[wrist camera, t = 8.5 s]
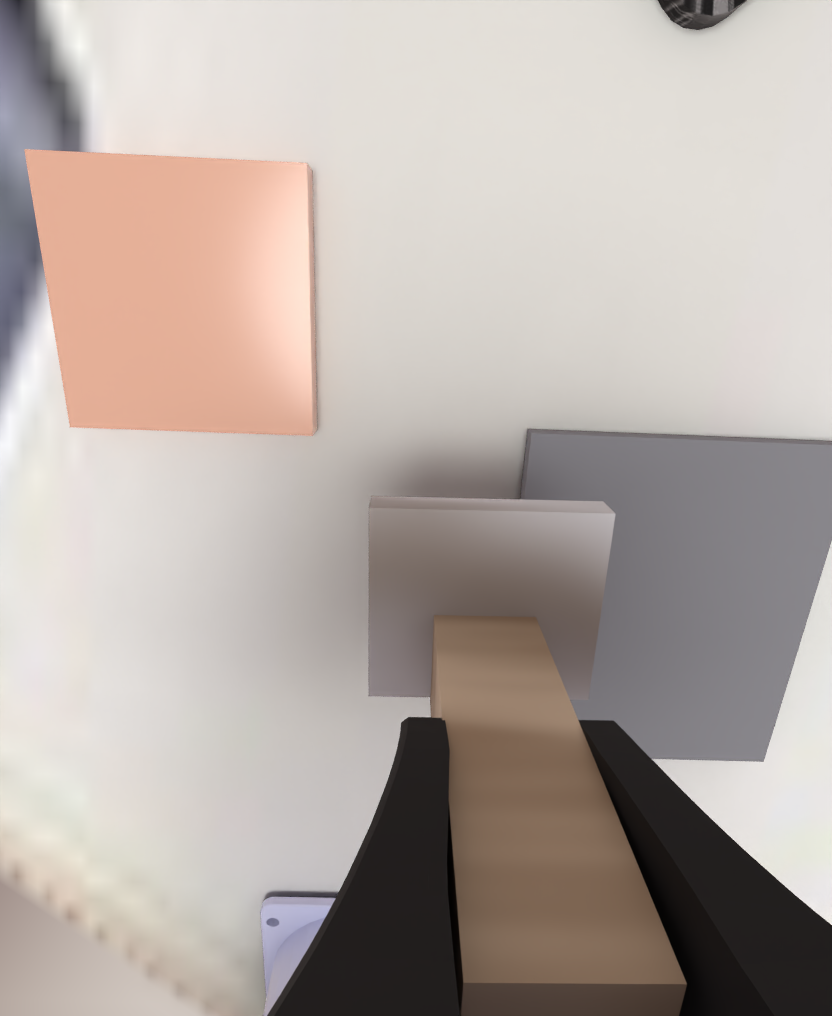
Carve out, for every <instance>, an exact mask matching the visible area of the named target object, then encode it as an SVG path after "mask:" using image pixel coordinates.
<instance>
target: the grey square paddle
mask: <svg viewBox="0 0 832 1016" xmlns="http://www.w3.org/2000/svg"><path fill="white" fill-rule="evenodd" d="M615 515H616V514H615V513H614V512H613V511H612V510H611V509H610V508H609V507H608V506H607V505H606V504H605V503H604V502H603V501H567V500H524V499H481V498H439V497H396V496H371V500H370V505H369V696H391V697H430V705H431V718H442V720H445V722H446V728H447V734H448V741H449V748H450V759H449V802H448V845H447V877H448V899H449V910H450V921H451V931H452V942H453V953H454V964H455V974H456V984H457V993H458V1003H459V1013H460V1016H679V1013H680V1009H681V1006H682V1002H683V998H684V994H685V990H686V987H687V983H686V980H685V978H684V976H683V973H682V971H681V968H680V966H679V964H678V961H677V959H676V956H675V954H674V951H673V949H672V947H671V944H670V942H669V939H668V937H667V934H666V932H665V930H664V927H663V925H662V922H661V920H660V917H659V915H658V913H657V910H656V908H655V905H654V903H653V900H652V898H651V896H650V893H649V891H648V888H647V886H646V883H645V881H644V879H643V876H642V874H641V871H640V869H639V866H638V864H637V862H636V859H635V857H634V854H633V852H632V849H631V847H630V845H629V842H628V840H627V837H626V835H625V832H624V830H623V828H622V825H621V823H620V820H619V818H618V815H617V813H616V811H615V808H614V806H613V803H612V801H611V798H610V796H609V794H608V791H607V789H606V786H605V784H604V781H603V779H602V777H601V774H600V772H599V769H598V767H597V764H596V762H595V760H594V757H593V755H592V752H591V750H590V747H589V745H588V743H587V740H586V738H585V735H584V733H583V730H582V728H581V726H580V723H579V721H578V718H577V716H576V713H575V711H574V709H573V706H572V704H571V701H570V700H588V698H589V691H590V684H591V677H592V671H593V664H594V657H595V650H596V643H597V637H598V630H599V623H600V616H601V610H602V603H603V596H604V589H605V582H606V576H607V569H608V562H609V555H610V548H611V542H612V535H613V528H614V521H615Z"/></svg>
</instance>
